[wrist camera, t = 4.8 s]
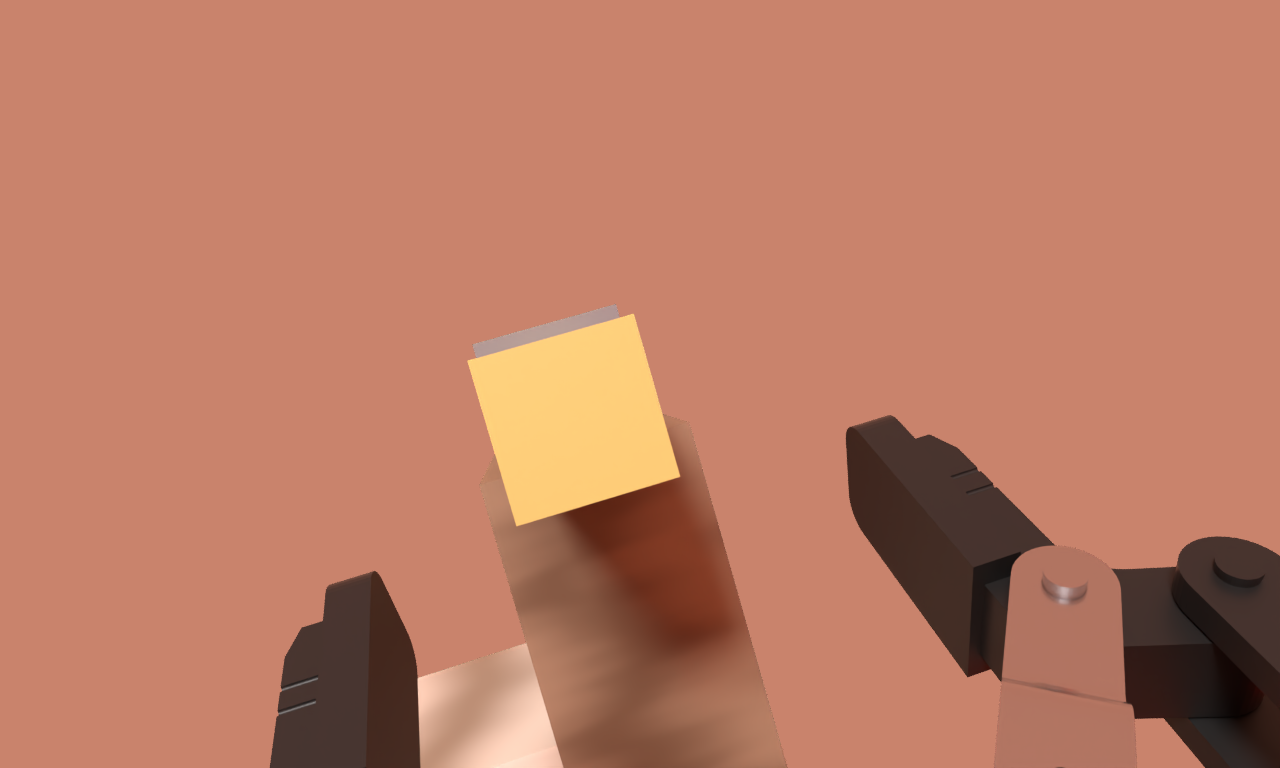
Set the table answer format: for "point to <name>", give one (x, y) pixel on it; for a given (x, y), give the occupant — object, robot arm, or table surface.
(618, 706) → the step stand
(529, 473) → the bar
